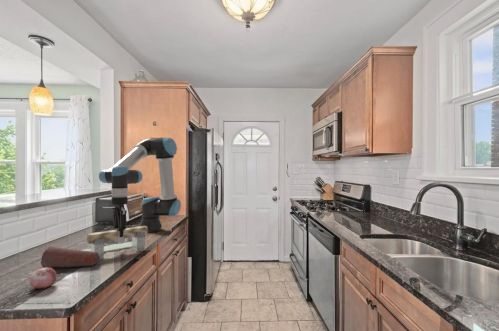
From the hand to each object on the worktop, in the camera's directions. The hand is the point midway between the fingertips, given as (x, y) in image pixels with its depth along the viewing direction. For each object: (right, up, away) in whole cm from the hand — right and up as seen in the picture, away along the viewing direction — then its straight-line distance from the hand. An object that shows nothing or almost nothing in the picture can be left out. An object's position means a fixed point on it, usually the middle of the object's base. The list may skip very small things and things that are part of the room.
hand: (119, 242), depth 142 cm
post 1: (-7, -5, -7) cm, 12 cm away
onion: (-8, -5, -41) cm, 42 cm away
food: (-12, -6, -20) cm, 24 cm away
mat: (-8, -6, +8) cm, 13 cm away
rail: (0, +2, 0) cm, 2 cm away
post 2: (+7, -6, +7) cm, 11 cm away
